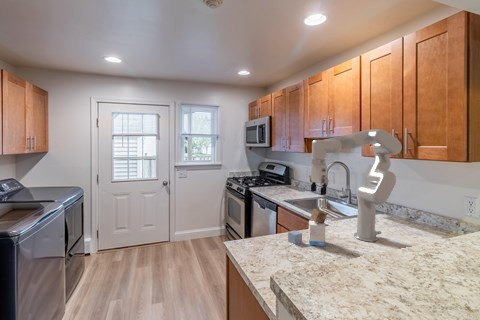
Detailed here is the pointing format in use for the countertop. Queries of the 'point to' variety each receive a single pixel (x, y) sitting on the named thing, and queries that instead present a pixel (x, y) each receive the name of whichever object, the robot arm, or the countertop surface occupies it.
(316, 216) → the walnut cube
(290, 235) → the slate cube
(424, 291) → the countertop surface
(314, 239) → the ink box
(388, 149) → the robot arm
